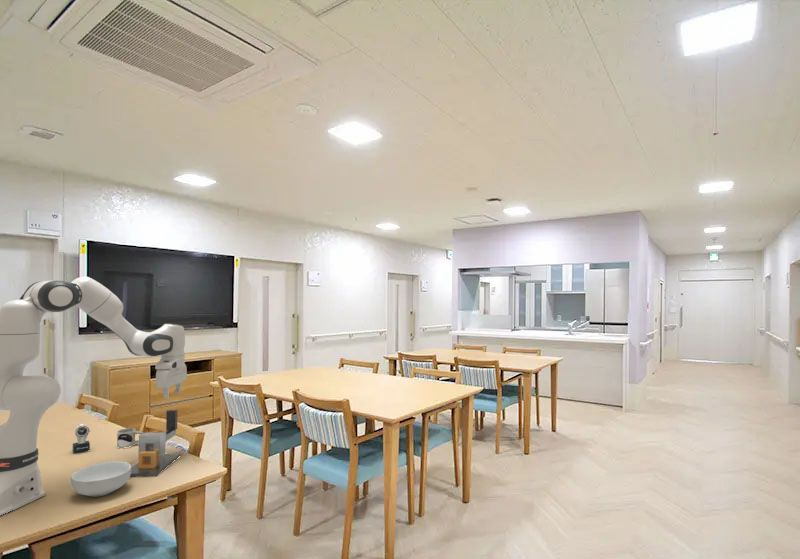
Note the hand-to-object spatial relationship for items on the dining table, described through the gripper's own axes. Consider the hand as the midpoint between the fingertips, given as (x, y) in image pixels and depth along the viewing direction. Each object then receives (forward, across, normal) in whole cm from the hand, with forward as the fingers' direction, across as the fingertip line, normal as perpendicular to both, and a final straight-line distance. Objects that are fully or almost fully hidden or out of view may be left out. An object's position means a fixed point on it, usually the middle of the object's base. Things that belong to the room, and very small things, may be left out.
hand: (172, 395), depth 189 cm
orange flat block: (+23, +19, 0) cm, 29 cm away
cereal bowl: (+24, +36, -6) cm, 44 cm away
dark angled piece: (+17, +7, 0) cm, 18 cm away
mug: (+24, -10, -22) cm, 34 cm away
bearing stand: (+24, +15, 0) cm, 28 cm away
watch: (+24, -4, -39) cm, 46 cm away
